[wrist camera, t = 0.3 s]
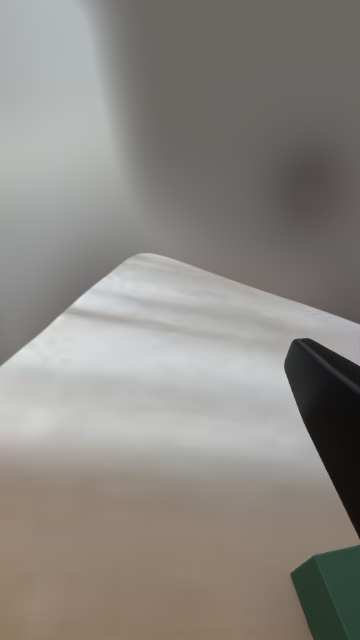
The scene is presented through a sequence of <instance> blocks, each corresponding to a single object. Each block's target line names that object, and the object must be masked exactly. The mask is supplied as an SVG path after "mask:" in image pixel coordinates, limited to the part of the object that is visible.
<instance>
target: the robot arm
mask: <svg viewBox="0 0 360 640" xmlns="http://www.w3.org/2000/svg"><path fill="white" fill-rule="evenodd" d="M284 369H285V373H286V375H287V378H288V381H289V384H290V387H291V389H292V392H293V395H294V398H295V401H296V403H297V406H298V409H299V412H300V414H301V417H302V419H303V422H304V424H305V426H306V428H307V431H308V433H309V435H310V437H311V439H312V441H313V443H314V445H315V447H316V449H317V451H318V453H319V456H320V458H321V460H322V462H323V464H324V466H325V468H326V470H327V472H328V474H329V476H330V478H331V480H332V483H333V485H334V487H335V489H336V491H337V493H338V495H339V497H340V499H341V501H342V503H343V505H344V507H345V510H346V512H347V514H348V516H349V518H350V520H351V522H352V524H353V526H354V528H355V530H356V532H357V534H358V537H359V539H360V366H359V365H357V364H355V363H353V362H351V361H350V360H348V359H346V358H344V357H342V356H341V355H339V354H337V353H335V352H333V351H332V350H330V349H328V348H326V347H324V346H323V345H321V344H319V343H317V342H315V341H313V340H312V339H309V338H303V339H295V340H293V342H292V343H291V346H290V349H289V351H288V354H287V357H286V359H285V363H284Z"/></svg>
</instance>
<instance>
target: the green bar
mask: <svg viewBox="0 0 360 640" xmlns="http://www.w3.org/2000/svg"><path fill="white" fill-rule="evenodd" d="M291 577H292V580H293V583H294V585H295V588H296V591H297V594H298V596H299V599H300V602H301V605H302V607H303V610H304V613H305V616H306V618H307V621H308V624H309V627H310V629H311V632H312V635H313V638H314V640H360V545H358V546H353V547H349V548H344V549H340V550H335V551H331V552H326V553H322V554H317V555H314V556H312V557H311V558H310V559H309V560H307V561H306V562H305V563H303V564H302V565H301V566H299V567H298V568H297V569H295V570H294V571H293V572H291Z"/></svg>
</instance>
